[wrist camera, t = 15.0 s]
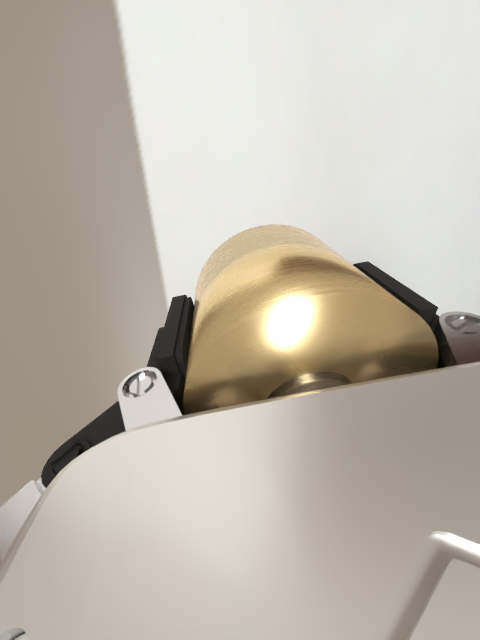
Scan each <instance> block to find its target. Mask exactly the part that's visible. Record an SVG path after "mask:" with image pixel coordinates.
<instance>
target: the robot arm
mask: <svg viewBox="0 0 480 640" xmlns="http://www.w3.org/2000/svg"><path fill="white" fill-rule="evenodd" d="M353 266H355V267H356V268H357V269H359V270H360V271H361V272H363V273H364V274H365V275H366V276H368V277H369V278H370V279H372V280H373V281H374V282H376V283H377V284H378V285H380V286H381V287H382V288H384V289H385V290H386V291H388V292H389V293H390V294H392V295H393V296H394V297H396V298H397V299H398V300H399V301H401V302H402V303H403V304H405V305H406V306H407V307H409V308H410V309H411V310H413V311H414V312H415V313H417V314H418V315H419V316H421V317H422V318H423V320H424V321H425V322H426V323H427V324H428V325H429V326H430V328H431V330H432V332H433V334H434V336H435V338H436V342H437V346H438V364H437V369H433V370H427V371H421V372H416V373H410V374H404V375H399V376H393V377H387V378H381V379H376V380H370V381H365V382H359V383H353V384H348V385H342V386H337V387H331V388H326V389H320V390H314V391H309V392H303V393H298V394H292V395H287V396H282V397H276V398H271V399H265V400H260V401H255V402H249V403H244V404H238V405H233V406H228V407H222V408H217V409H212V410H207V411H202V412H197V413H192V414H187V415H184V410H183V397H184V388H185V380H186V371H187V363H188V355H189V346H190V338H191V330H192V321H193V313H194V304H193V301H192V299H191V297H189V298H187V296H186V295H182V296H177V297H173V298H172V302H171V305H170V309H169V312H168V316H167V319H166V323H165V327H162V328H159V330H158V333H157V336H156V339H155V343H154V346H153V349H152V352H151V355H150V358H149V361H148V364H147V367H145V368H140V369H138V370H136V371H134V372H132V373H131V374H129V375H128V376H127V377H125V378H124V379H123V381H122V382H121V383H120V385H119V387H118V390H117V395H118V400H119V401H118V402H116V403H115V404H114V405H113V406H111V407H110V408H109V409H107V410H106V411H105V412H104V413H102V414H101V415H100V416H98V417H97V418H96V419H95V420H93V421H92V422H91V423H89V425H87V426H86V427H85V428H83V429H82V430H81V431H79V432H78V433H77V434H75V435H74V436H73V437H72V438H70V439H69V440H68V441H67V442H65V443H64V444H63V445H61V446H60V447H59V448H58V449H57V450H56V451H55V452H54V453H53V454H52V456H51V457H50V458H49V459H48V461H47V463H46V464H45V466H44V468H43V471H42V475H41V478H40V479H38V480H37V481H36V482H35V481H34V480H31V481H30V482H28V483H27V484H26V485H25V486H24V487H23V488H22V489H20V490H19V491H18V492H17V493H16V494H15V495H13V496H12V497H11V498H10V499H9V500H8V501H7V502H6V503H4V504H3V505H2V506H1V507H0V640H480V316H478V315H475V314H471V313H466V312H448V313H444V314H442V315H441V316H440V317H439V316H438V315H436V311H437V309H438V307H437V306H435V305H433V304H432V303H430V302H429V301H427V300H426V299H424V298H423V297H421V296H420V295H418V294H417V293H415V292H414V291H412V290H411V289H409V288H408V287H406V286H405V285H403V284H402V283H400V282H398V281H397V280H395V279H394V278H392V277H391V276H389V275H388V274H386V273H385V272H383V271H382V270H380V269H379V268H377V267H376V266H374V265H373V264H371V263H370V262H362V263H357V264H354V265H353Z"/></svg>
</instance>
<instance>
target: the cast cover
mask: <svg viewBox="0 0 480 640" xmlns="http://www.w3.org/2000/svg"><path fill="white" fill-rule="evenodd" d="M437 364H438V346H437V342H436V338H435V336H434V334H433V332H432V330H431V328H430V326H429V325H428V324H427V323H426V322H425V321H424V320H423V318H422V317H421V316H419V315H418V314H417V313H415V312H414V311H413V310H411V309H410V308H409V307H407V306H406V305H405V304H403V303H402V302H401V301H399V300H398V299H397V298H396V297H394V296H393V295H392V294H390V293H389V292H388V291H386V290H385V289H384V288H382V287H381V286H380V285H378V284H377V283H376V282H374V281H373V280H372V279H370V278H369V277H368V276H366V275H365V274H364V273H363V272H361V271H360V270H359V269H357V268H356V267H355V266H353V265H352V264H351V263H349V262H348V261H347V260H345V259H344V258H343V257H341V256H340V255H339V254H337V253H336V252H335V251H334V250H332V249H331V248H330V247H328V246H327V245H326V244H324V243H323V242H322V241H320V240H319V239H318V238H316V237H315V236H313V235H312V234H310V233H308V232H306V231H304V230H302V229H299V228H296V227H292V226H286V225H265V226H259V227H255V228H251V229H248V230H246V231H243V232H241V233H239V234H237V235H235V236H233V237H232V238H230V239H228V240H227V241H226V242H224V243H223V244H222V245H221V246H220V247H219V248H218V249H217V250H216V251H215V252H214V253H213V254H212V255H211V256H210V258H209V259H208V260H207V262H206V264H205V265H204V267H203V269H202V271H201V274H200V276H199V279H198V283H197V288H196V296H195V305H194V313H193V321H192V330H191V338H190V346H189V355H188V363H187V371H186V380H185V388H184V397H183V410H184V415H187V414H192V413H197V412H202V411H207V410H212V409H217V408H222V407H228V406H233V405H238V404H244V403H249V402H255V401H260V400H265V399H271V398H276V397H282V396H287V395H292V394H298V393H303V392H309V391H314V390H320V389H326V388H331V387H337V386H342V385H348V384H353V383H359V382H365V381H370V380H376V379H381V378H387V377H393V376H399V375H404V374H410V373H416V372H421V371H427V370H433V369H437Z"/></svg>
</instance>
